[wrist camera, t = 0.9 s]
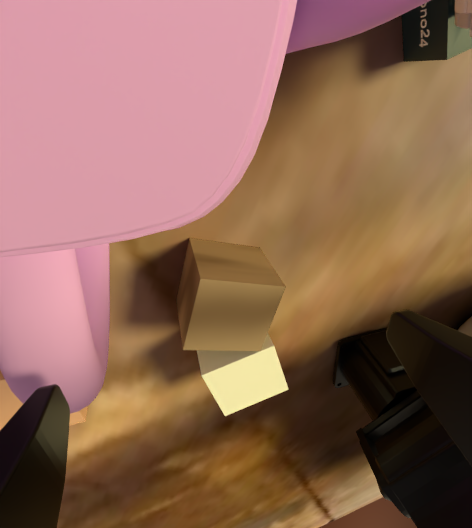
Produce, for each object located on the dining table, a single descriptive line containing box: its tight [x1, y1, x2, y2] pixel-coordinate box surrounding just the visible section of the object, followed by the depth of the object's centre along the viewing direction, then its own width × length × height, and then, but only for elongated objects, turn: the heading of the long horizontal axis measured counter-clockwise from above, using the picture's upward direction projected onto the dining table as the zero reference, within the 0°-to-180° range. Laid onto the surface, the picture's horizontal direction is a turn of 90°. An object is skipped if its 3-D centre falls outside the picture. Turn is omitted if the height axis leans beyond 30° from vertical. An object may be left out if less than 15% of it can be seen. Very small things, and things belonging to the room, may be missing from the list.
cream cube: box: [197, 333, 289, 416], centre depth 24 cm, size 5×5×5 cm
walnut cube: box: [176, 238, 286, 351], centre depth 20 cm, size 5×5×5 cm
